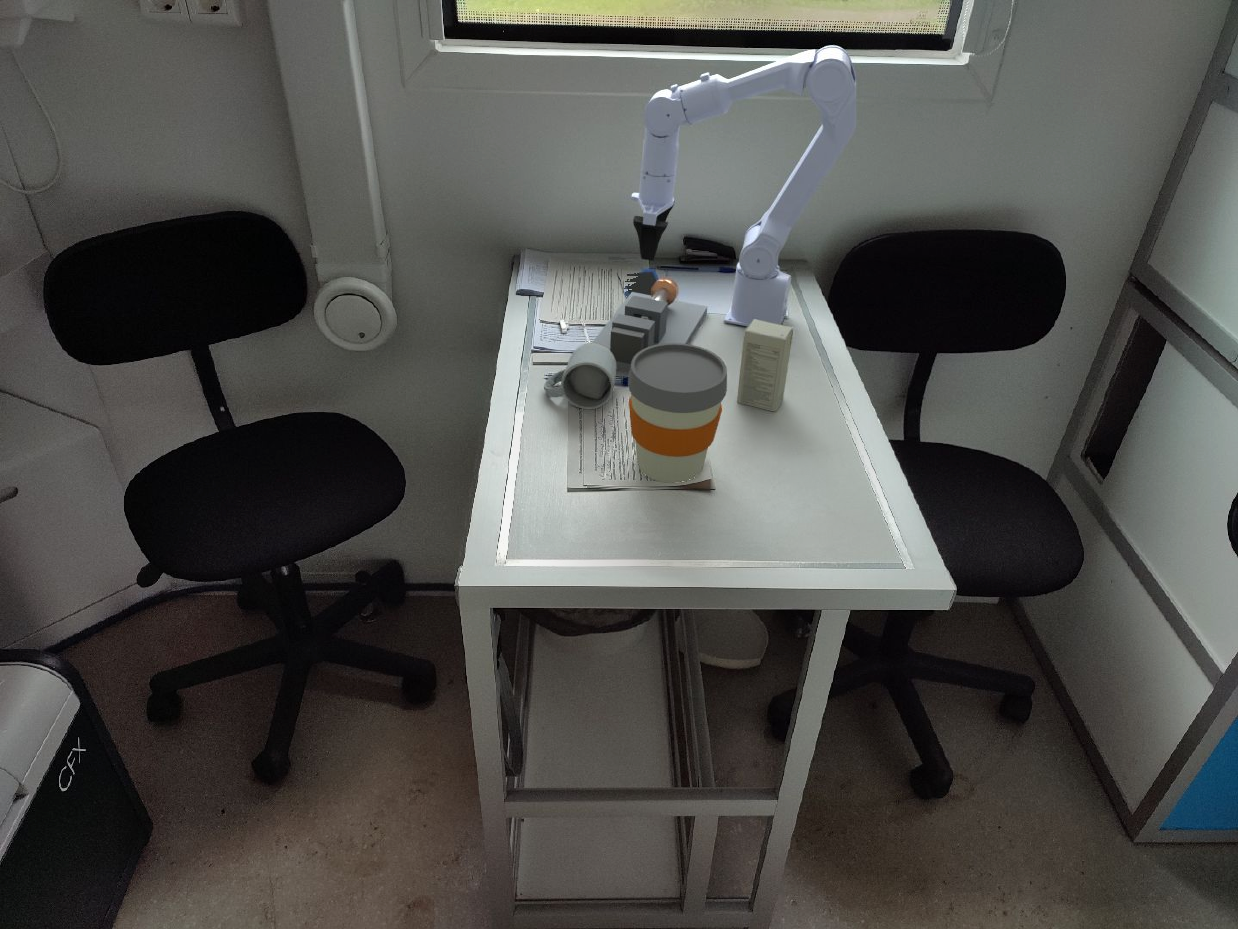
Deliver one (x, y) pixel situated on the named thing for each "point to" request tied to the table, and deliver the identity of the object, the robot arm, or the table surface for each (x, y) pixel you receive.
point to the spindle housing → (648, 326)
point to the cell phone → (642, 282)
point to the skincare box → (764, 364)
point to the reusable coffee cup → (675, 408)
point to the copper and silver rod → (663, 292)
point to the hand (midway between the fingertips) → (650, 249)
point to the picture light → (565, 327)
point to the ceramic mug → (585, 377)
